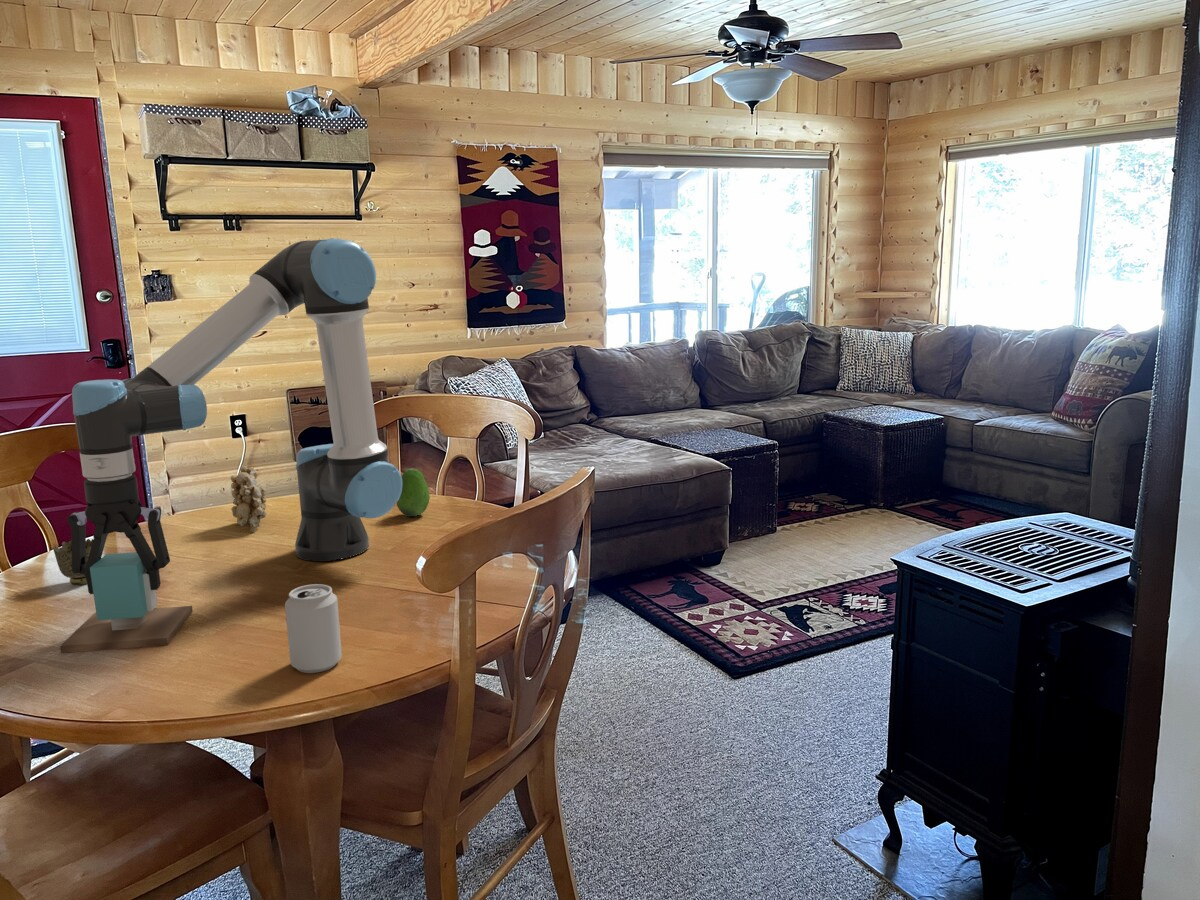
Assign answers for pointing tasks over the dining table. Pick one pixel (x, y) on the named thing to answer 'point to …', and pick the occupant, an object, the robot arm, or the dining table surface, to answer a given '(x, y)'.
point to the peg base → (128, 631)
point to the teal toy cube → (119, 586)
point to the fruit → (413, 493)
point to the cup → (70, 561)
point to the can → (313, 628)
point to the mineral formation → (248, 498)
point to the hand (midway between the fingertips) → (127, 609)
